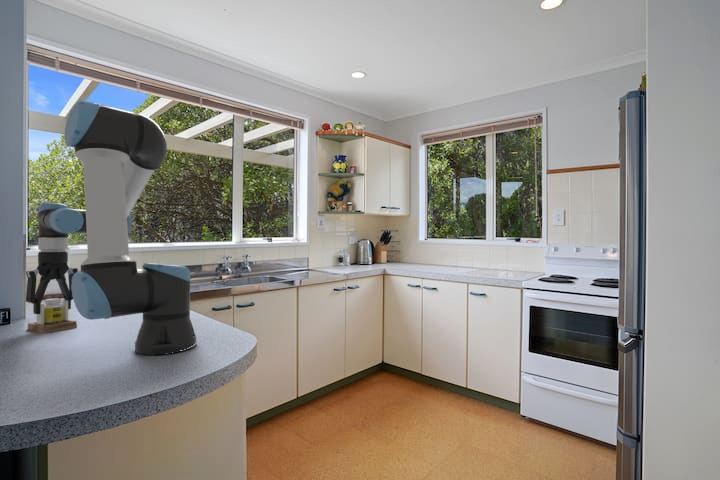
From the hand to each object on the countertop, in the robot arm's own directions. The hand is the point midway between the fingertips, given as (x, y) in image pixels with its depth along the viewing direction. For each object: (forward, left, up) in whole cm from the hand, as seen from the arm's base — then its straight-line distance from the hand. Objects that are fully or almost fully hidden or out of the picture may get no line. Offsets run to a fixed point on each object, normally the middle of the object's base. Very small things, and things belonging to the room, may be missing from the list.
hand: (52, 321), depth 123 cm
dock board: (0, 0, -2) cm, 2 cm away
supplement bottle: (0, 0, -1) cm, 1 cm away
